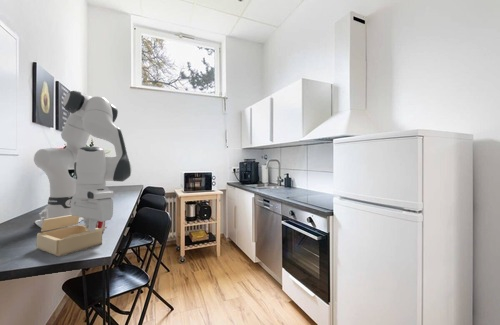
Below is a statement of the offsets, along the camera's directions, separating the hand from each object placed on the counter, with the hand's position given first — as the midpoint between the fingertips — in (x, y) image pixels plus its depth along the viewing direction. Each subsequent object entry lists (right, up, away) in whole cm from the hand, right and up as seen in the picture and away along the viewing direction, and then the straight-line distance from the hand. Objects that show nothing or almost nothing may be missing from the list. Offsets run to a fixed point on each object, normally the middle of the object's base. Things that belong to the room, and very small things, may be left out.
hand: (90, 230), depth 81 cm
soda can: (-13, -8, +22) cm, 27 cm away
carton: (-12, -8, +6) cm, 15 cm away
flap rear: (-19, -2, +10) cm, 21 cm away
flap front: (-4, -2, +2) cm, 5 cm away
